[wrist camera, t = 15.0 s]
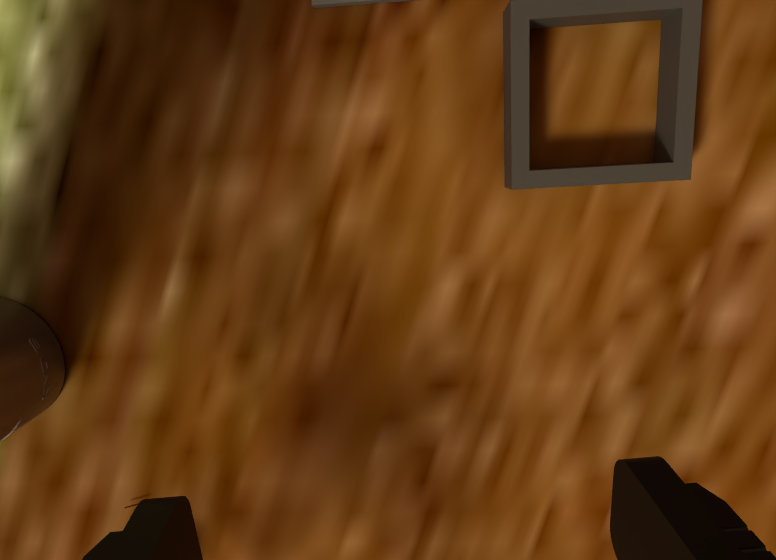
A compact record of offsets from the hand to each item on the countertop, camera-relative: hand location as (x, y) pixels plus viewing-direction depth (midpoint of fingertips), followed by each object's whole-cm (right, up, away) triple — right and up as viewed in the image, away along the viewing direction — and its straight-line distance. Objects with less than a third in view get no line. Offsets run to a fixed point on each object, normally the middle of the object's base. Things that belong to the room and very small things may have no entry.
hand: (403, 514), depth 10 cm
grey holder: (+12, +15, +22) cm, 29 cm away
